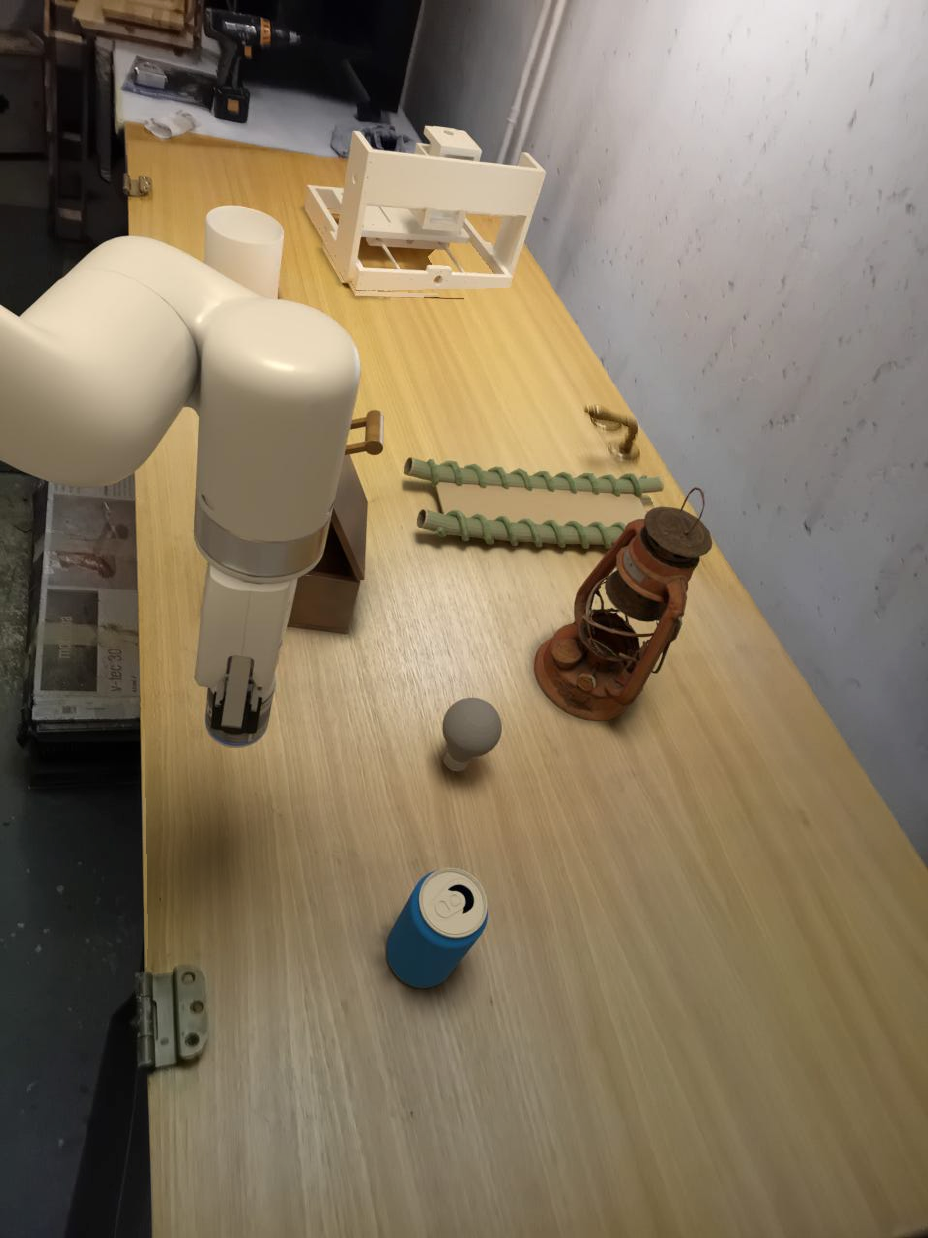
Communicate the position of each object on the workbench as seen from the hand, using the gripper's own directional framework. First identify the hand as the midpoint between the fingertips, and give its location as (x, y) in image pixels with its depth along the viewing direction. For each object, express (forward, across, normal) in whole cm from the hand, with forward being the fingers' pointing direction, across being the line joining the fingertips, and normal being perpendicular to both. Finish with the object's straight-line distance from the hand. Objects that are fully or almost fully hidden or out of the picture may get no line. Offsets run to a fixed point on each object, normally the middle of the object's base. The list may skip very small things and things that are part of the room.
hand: (239, 695), depth 60 cm
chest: (+22, -32, +2) cm, 38 cm away
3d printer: (+22, -123, +16) cm, 126 cm away
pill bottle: (+4, 0, 0) cm, 4 cm away
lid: (+6, -32, +6) cm, 33 cm away
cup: (+22, -93, -12) cm, 97 cm away
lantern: (+22, -24, +39) cm, 51 cm away
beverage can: (+22, +10, +19) cm, 31 cm away
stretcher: (+22, -52, +37) cm, 67 cm away
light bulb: (+22, -10, +23) cm, 33 cm away
